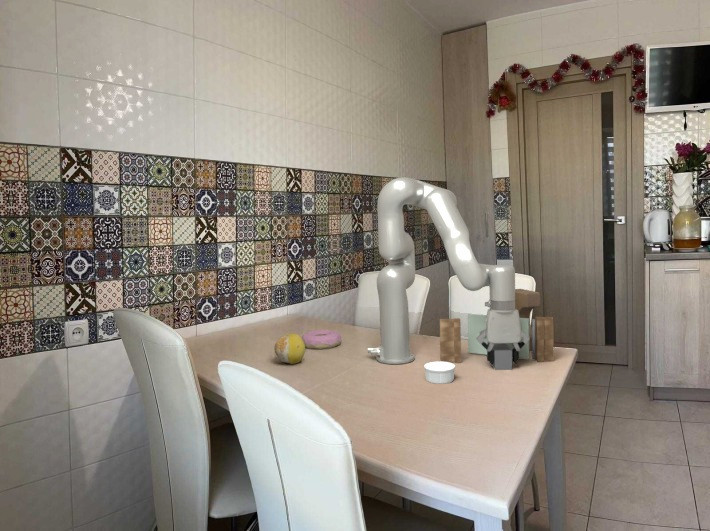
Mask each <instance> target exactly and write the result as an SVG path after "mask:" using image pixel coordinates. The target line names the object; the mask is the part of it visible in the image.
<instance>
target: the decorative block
mask: <svg viewBox="0 0 710 531" xmlns="http://www.w3.org/2000/svg"><path fill="white" fill-rule="evenodd" d="M537 307H541V293H540V292H539V291H534V290H528V289H523V288H515V309H517V310H518V312H519V317H520V318H529V352H532V324H531V313H532V311H533V309H535V308H537Z"/></svg>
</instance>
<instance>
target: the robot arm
mask: <svg viewBox="0 0 710 531" xmlns="http://www.w3.org/2000/svg"><path fill="white" fill-rule="evenodd" d="M377 198H378V199H377V202H376V203H377V204H376V206H377V207H376V208H377V209H376V210H377V236H378V241H377V242H378V252H379V255H380V256H381V257H382V259H384V260H386V261H388V265H386V266H384V267H382V269H381V270H380V271H379V272H378V274H377V275H376V276H377V278H376V289H377V295H378V303H379V304H378V305H379V306H378V307H379V324H380V325H379V329H380V330H379V331H380V332H379V333H380V335H379V336H380V344H379V345H378V346H376V347H372V346H371V347H367V354H370V355H376V360H377V361H378V362H379V363H382V364H387V365H401V364H407V363H411V362H413V361H414V360H415V354H414V353H412V352H411V351H410V318H409V317H410V314H409V300H408V294H407V289H409V288H411V287H412V285H413V284H414V283H415V279H416V255H415V252H416V251H415V243H414V239H413V238H412V236H411V235H410V234H409V233H408V232H406V231H405V217H404V216H405V215H404V212H403V207H404V205H405V206H406V205H412V206H414V207H418V208H420V209H422V210H427V211H426V212H427V213H428V215H429V216H430V218H431V221H432V223H433V224H434V226H435V228H436V230H437V233H438V234H439V236H440V237H441V238H440V239H441V241H442V243H443V246H444V250H445V251H446V254H447V258H448V260H449V263H450V265H451V267H452V269H453V272H454V273H455V275H456V277H457V279H458V281H459V283H460V285H462V287H463V288H464V289H465V290H467V291H471V292H475V291H476V292H477V291H479V290H481V289H483V288H485V287H489V298H488V299H489V300H488V301H485V302H484V307H487V308H488V309H487V312H486V315H487V316H486V326H485V330H484V331H483V332H482V333H481V334H480V335H479V336H478V337H477V338H476V339H477V341H478V342H479V343H480V344H481V345H482V346H483V347H484V348H485V349H486V350H487V355H486V357H487V359H486V360H487V362H489V364H490V365H492V364H493V351H492V348H493V346H494V344H513V346H514V349H513V350H512V364H514V365H517V364H518V361H519V360H520V358H519V351H520V349H521V348H522V347H523V346H524V345H525V343H527V341H528V340H529V337H528V336H527V335H526V334H524V333H523V332H522V331H521V326H520V317H519V312H518V310H517V309H515V289H516V269H515V267H514V266H513V265H510V264H487V263H486V264H484V263H479V262H478V260H477V258H476V257H475V254H474V251H473V250H472V246H471V243H470V231H469V228H468V227H467V224H466V222H465V220H464V219H463V217H462V215H461V213H460V211H459V208H458V207H457V205H458V201H457V200H458V199H457V197H456V195H455V194H454V192H452V191H451V190H449V189H446V188H444V187H441V186H437V185H434V184H431V183H428V182H425V181H421V180H419V179H416V178H411V177H406V176H405V177H404V176H402V177H397V178H394V179H392V180H390V181H388V182H387V183H386V184H385V185H384V186H383V187H382V188H381V190H380V192H379V195H378V197H377ZM521 336H522V337H523V339H522V340H521ZM484 337H486V339H487V341H488V344H486V343H485V342H484V341H483V338H484Z"/></svg>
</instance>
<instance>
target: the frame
mask: <svg viewBox="0 0 710 531" xmlns="http://www.w3.org/2000/svg"><path fill="white" fill-rule="evenodd" d="M534 319H535V360H534V361H536V362H537V363H544V362H554V317H553V316H535V317H534ZM461 322H462V321H461V318H459V317H457V318H455V317H454V318H439V345H440V346H439V348H440V352H439V354H440V362H449V363H452V362H453V363H452V364H461V363H462V332H461V330H462V327H461V325H462V324H461Z"/></svg>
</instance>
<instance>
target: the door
mask: <svg viewBox="0 0 710 531" xmlns="http://www.w3.org/2000/svg"><path fill="white" fill-rule="evenodd" d="M486 316H487V314H486V315H485V314H471V313H470V314H467V353H470V354H479V355H486V356H487V350H486V349H485V348H484V347H483V346H482V345H481V344H480V343H479V342H478V341H477V339H476V338H477V337H478V336H479V335H480V334H481V333H482V332H483V331H484V330H485V326H486ZM520 326H521V331H522V332H523V333H524V334H526V335H527V336H528V337H529V318H520ZM531 327H532V351H531V357H532V358H531V359H532V360H533V361H536V360H535V318H532V319H531ZM522 339H523V337H522V336H521V340H522ZM483 341H484V342H485V343H486V344H487V339H486V337H484V338H483ZM506 345H507V346H508V347H509V348H510V349H511V351H512V350H513V349H514V346H513V344H506ZM519 359H521V360H522V359H524V360H530V351H529V340H528V341H527V343H525V345H524V346H523V347H522V348H521V349H520V351H519Z"/></svg>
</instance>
